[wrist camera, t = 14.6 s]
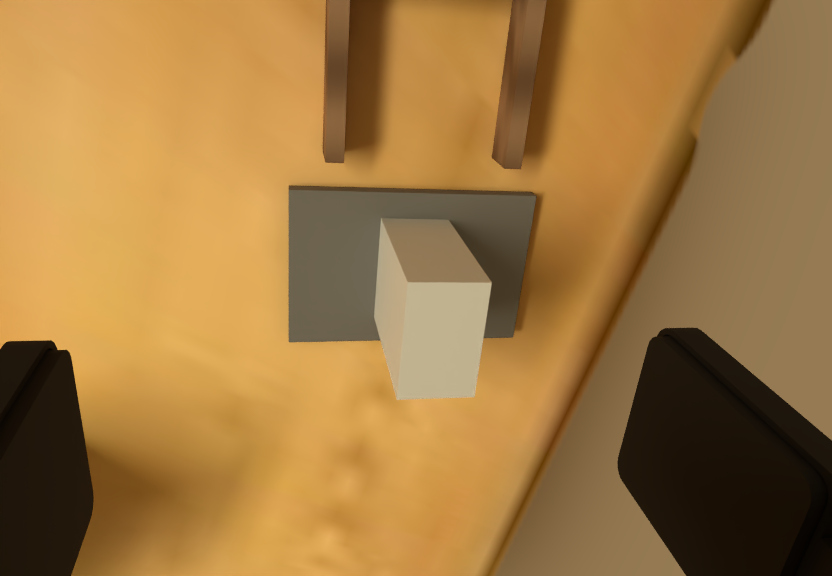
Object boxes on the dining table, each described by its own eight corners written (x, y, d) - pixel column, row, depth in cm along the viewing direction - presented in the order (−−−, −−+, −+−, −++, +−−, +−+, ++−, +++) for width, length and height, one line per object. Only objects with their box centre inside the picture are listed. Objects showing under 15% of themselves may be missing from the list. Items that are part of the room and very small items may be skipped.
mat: (288, 185, 45) (288, 189, 45) (531, 192, 49) (536, 196, 48) (288, 335, 50) (288, 342, 50) (509, 331, 54) (513, 337, 53)
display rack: (327, -47, 40) (330, -49, 37) (533, -27, 42) (550, -27, 40) (322, 151, 45) (325, 162, 42) (507, 158, 48) (521, 169, 45)
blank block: (381, 218, 47) (407, 282, 37) (448, 219, 48) (491, 282, 38) (373, 316, 50) (396, 399, 40) (437, 316, 51) (474, 397, 41)
